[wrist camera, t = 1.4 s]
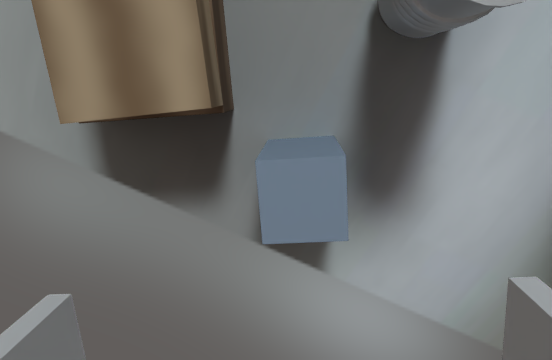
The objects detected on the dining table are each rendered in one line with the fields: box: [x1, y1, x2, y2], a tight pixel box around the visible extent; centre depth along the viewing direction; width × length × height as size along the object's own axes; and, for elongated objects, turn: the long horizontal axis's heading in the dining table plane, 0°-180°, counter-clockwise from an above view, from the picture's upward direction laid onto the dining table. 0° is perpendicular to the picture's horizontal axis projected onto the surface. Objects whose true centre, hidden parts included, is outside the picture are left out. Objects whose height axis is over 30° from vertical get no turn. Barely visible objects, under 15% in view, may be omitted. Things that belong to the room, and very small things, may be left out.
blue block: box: [255, 136, 348, 244], centre depth 31 cm, size 6×6×10 cm
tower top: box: [31, 0, 223, 124], centre depth 27 cm, size 11×11×4 cm
